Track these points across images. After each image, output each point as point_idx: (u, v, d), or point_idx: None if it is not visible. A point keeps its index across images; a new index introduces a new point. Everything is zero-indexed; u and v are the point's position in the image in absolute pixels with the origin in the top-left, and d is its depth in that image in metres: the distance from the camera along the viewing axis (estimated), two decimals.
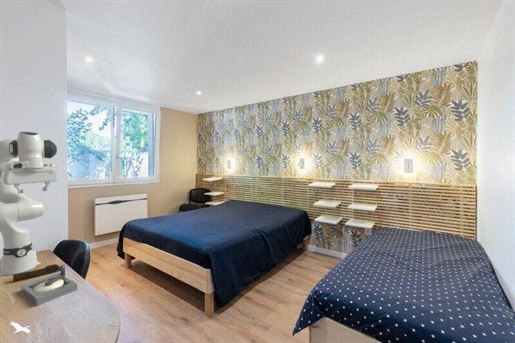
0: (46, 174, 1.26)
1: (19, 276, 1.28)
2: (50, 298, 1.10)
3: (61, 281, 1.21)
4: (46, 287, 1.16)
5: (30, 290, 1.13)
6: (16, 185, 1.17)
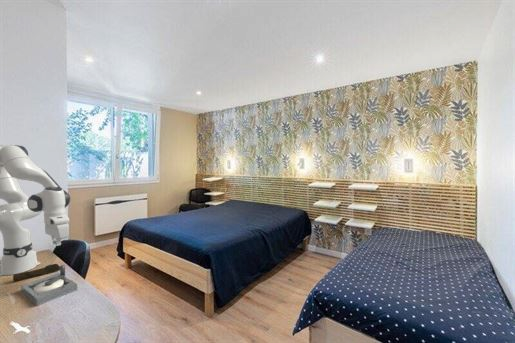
0: None
1: (19, 276, 1.28)
2: (50, 298, 1.10)
3: (61, 281, 1.21)
4: (46, 287, 1.16)
5: (30, 290, 1.13)
6: None
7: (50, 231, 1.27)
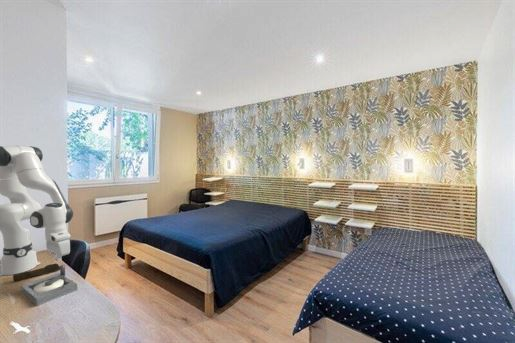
0: None
1: (19, 276, 1.28)
2: (50, 298, 1.10)
3: (61, 281, 1.21)
4: (46, 287, 1.16)
5: (30, 290, 1.13)
6: None
7: (51, 247, 1.27)
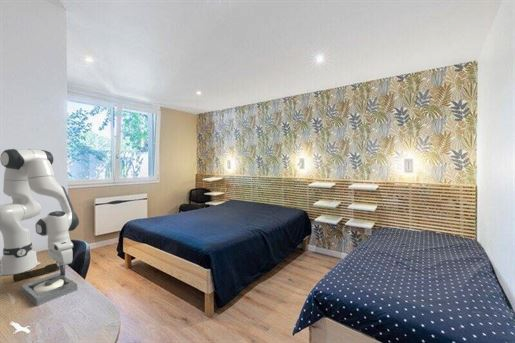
0: None
1: (19, 276, 1.28)
2: (50, 298, 1.10)
3: (61, 281, 1.21)
4: (46, 287, 1.16)
5: (30, 290, 1.13)
6: None
7: (54, 255, 1.27)
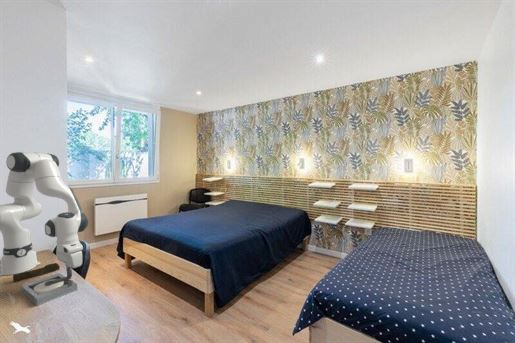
0: None
1: (19, 276, 1.28)
2: (50, 298, 1.10)
3: (58, 284, 1.18)
4: (42, 287, 1.16)
5: (30, 290, 1.13)
6: None
7: (62, 257, 1.24)
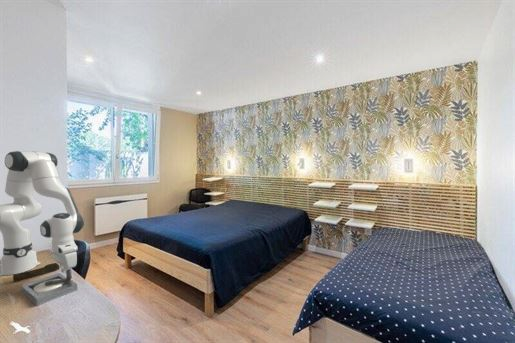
0: None
1: (19, 276, 1.28)
2: (50, 298, 1.10)
3: (54, 286, 1.16)
4: (41, 286, 1.16)
5: (30, 290, 1.13)
6: None
7: (58, 258, 1.25)
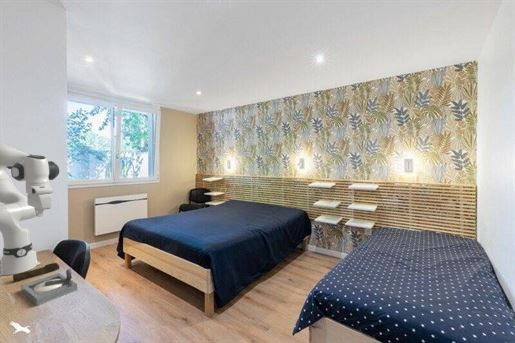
0: None
1: (20, 276, 1.28)
2: (50, 298, 1.10)
3: (54, 286, 1.16)
4: (41, 286, 1.16)
5: (30, 290, 1.13)
6: None
7: (32, 201, 1.20)
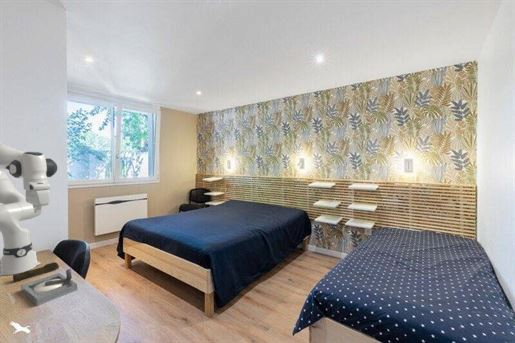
0: None
1: (20, 276, 1.29)
2: (50, 298, 1.10)
3: (54, 286, 1.16)
4: (41, 286, 1.16)
5: (30, 290, 1.13)
6: None
7: (30, 198, 1.20)
